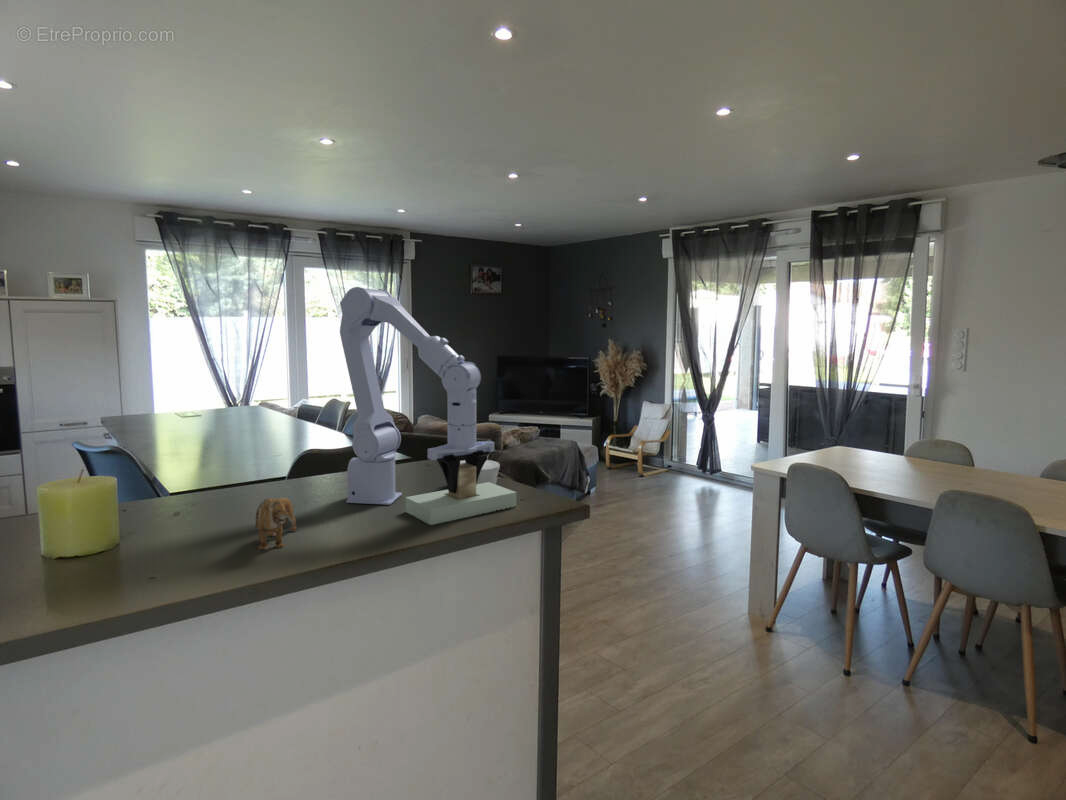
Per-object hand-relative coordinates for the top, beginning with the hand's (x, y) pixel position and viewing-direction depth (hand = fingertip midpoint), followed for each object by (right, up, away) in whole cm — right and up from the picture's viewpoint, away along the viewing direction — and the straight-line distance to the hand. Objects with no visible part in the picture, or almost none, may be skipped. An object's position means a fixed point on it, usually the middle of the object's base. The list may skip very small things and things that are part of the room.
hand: (462, 490), depth 125 cm
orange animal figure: (-29, -6, -19) cm, 35 cm away
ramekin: (+1, -2, +18) cm, 18 cm away
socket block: (0, -4, +1) cm, 4 cm away
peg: (0, -2, 0) cm, 2 cm away
